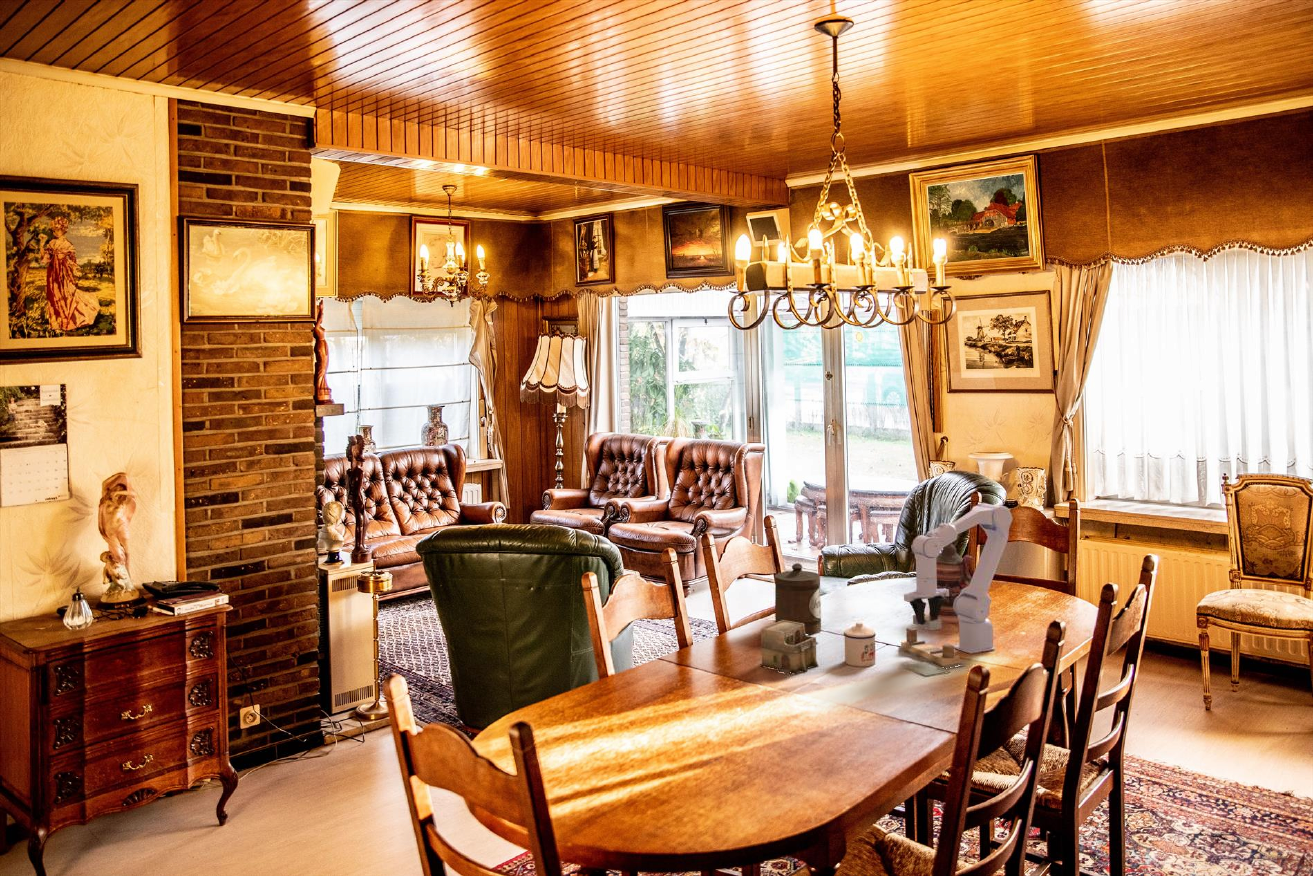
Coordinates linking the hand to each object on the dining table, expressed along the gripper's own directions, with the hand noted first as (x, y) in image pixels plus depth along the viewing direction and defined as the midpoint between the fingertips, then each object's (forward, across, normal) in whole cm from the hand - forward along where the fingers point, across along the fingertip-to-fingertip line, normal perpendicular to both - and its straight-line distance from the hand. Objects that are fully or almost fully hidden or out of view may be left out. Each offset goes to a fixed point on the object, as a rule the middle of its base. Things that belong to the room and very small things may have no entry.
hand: (927, 622), depth 289 cm
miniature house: (+10, +40, -11) cm, 43 cm away
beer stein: (+10, -33, -31) cm, 46 cm away
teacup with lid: (+10, +19, -5) cm, 22 cm away
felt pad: (+10, +8, +10) cm, 16 cm away
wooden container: (+10, +18, -44) cm, 49 cm away
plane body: (+10, 0, +1) cm, 10 cm away
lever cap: (+1, 0, 0) cm, 1 cm away
